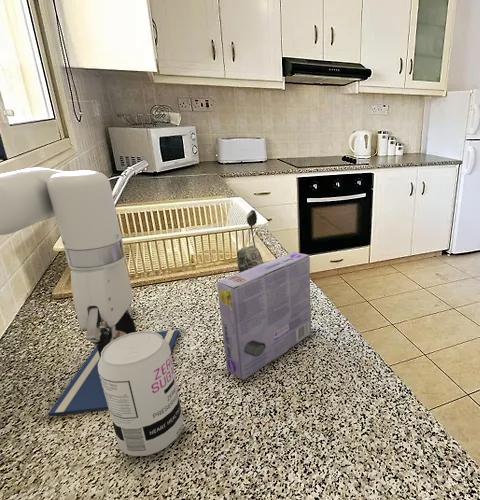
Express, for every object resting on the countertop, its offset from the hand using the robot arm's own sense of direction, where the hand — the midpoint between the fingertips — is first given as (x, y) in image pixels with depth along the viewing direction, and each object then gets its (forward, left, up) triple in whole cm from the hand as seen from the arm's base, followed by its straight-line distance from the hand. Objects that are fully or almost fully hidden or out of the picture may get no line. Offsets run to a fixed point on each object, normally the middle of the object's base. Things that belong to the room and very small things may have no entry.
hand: (120, 348), depth 64 cm
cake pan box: (+26, +1, -4) cm, 26 cm away
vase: (0, -1, -1) cm, 1 cm away
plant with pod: (+22, +27, -4) cm, 35 cm away
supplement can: (+9, -16, -4) cm, 19 cm away
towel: (0, 0, -4) cm, 4 cm away
